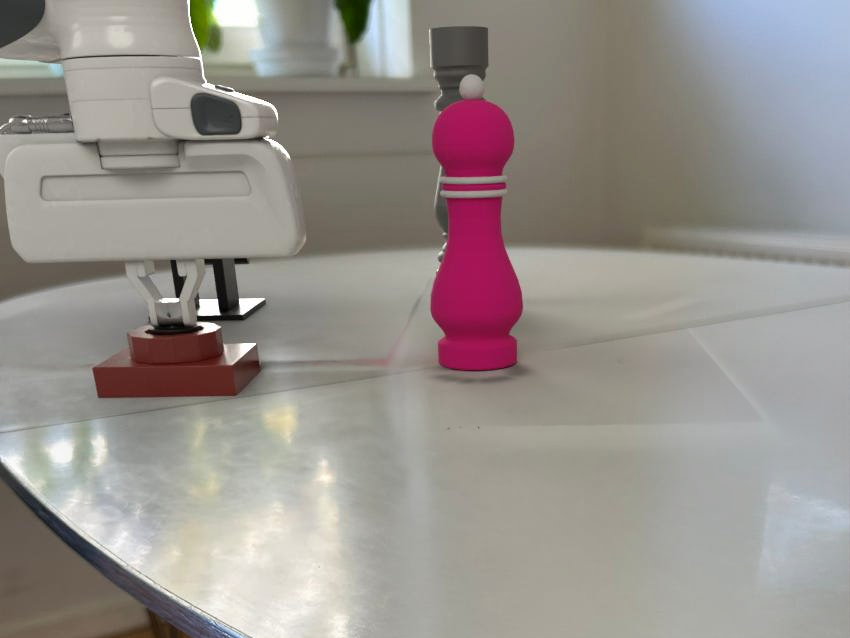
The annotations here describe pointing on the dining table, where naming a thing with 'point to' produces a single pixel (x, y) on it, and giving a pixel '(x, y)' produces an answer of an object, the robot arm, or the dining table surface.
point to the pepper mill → (475, 236)
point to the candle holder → (454, 83)
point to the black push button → (173, 330)
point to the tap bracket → (220, 294)
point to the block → (177, 365)
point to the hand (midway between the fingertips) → (174, 325)
